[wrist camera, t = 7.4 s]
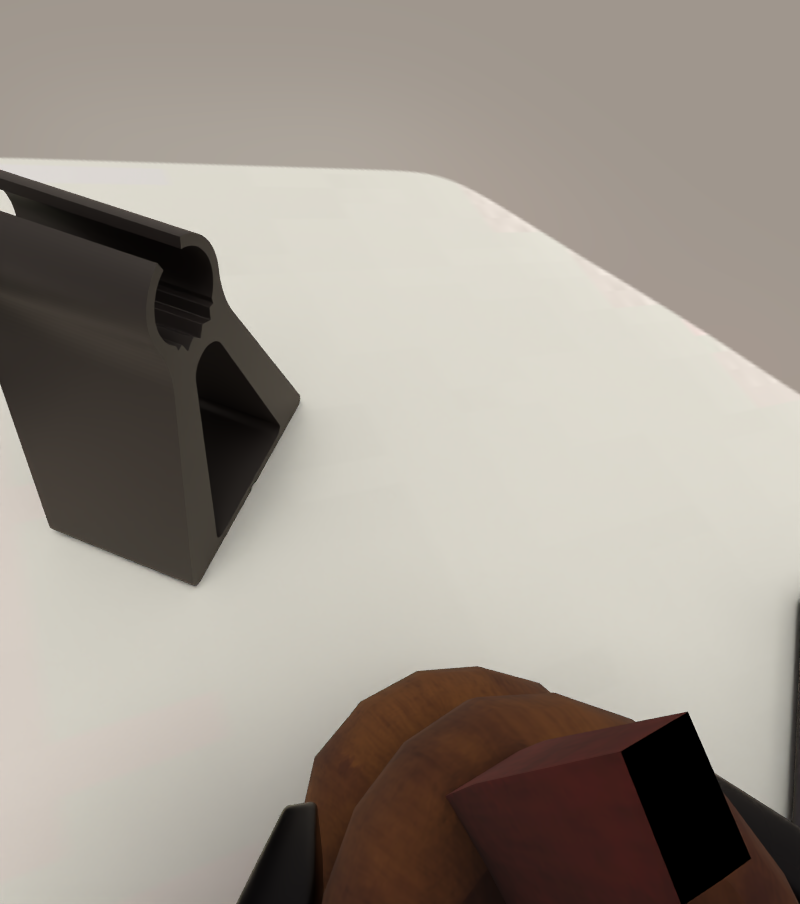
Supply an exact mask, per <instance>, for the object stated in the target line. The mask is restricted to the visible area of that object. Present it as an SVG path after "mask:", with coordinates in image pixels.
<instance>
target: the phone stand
mask: <svg viewBox="0 0 800 904" xmlns="http://www.w3.org/2000/svg"><path fill="white" fill-rule="evenodd" d="M0 189H1V190H4V192H5V193H6V194H7V196H8V197H9V199H10V201H11V203H12V205H13V207H14V210H15V213H16V216H14V215H11V214H8V213H5V212H2V211H0V384H1V387H2V390H3V393H4V396H5V399H6V402H7V405H8V407H9V410H10V413H11V416H12V419H13V422H14V425H15V428H16V431H17V434H18V436H19V439H20V442H21V445H22V448H23V451H24V454H25V457H26V460H27V462H28V465H29V468H30V471H31V474H32V477H33V480H34V483H35V486H36V489H37V491H38V494H39V497H40V500H41V503H42V506H43V509H44V512H45V515H46V518H47V520H48V523H49V526H50V528H52V529H54V530H57V531H59V532H62V533H64V534H67V535H69V536H72V537H74V538H77V539H79V540H82V541H84V542H87V543H89V544H92V545H94V546H97V547H99V548H102V549H104V550H107V551H109V552H112V553H114V554H117V555H119V556H122V557H124V558H127V559H129V560H132V561H134V562H137V563H139V564H142V565H144V566H147V567H149V568H152V569H154V570H157V571H159V572H162V573H164V574H167V575H169V576H172V577H174V578H177V579H179V580H181V581H184V582H186V583H189V584H191V585H194V586H195V585H197V584H198V583H199V582H200V580H201V579H202V577H203V575H204V573H205V571H206V570H207V568H208V566H209V564H210V562H211V561H212V559H213V557H214V555H215V553H216V552H217V550H218V548H219V546H220V545H221V543H222V541H223V539H224V537H225V536H226V534H227V532H228V530H229V528H230V527H231V525H232V523H233V521H234V519H235V518H236V516H237V514H238V512H239V511H240V509H241V507H242V505H243V503H244V502H245V500H246V498H247V496H248V494H249V493H250V491H251V486H252V484H253V482H256V480H257V478H258V477H259V475H260V473H261V471H262V469H263V468H264V466H265V464H266V462H267V460H268V459H269V457H270V455H271V453H272V452H273V450H274V448H275V446H276V444H277V443H278V441H279V439H280V437H281V435H282V434H283V432H284V430H285V428H286V426H287V425H288V423H289V421H290V419H291V418H292V416H293V414H294V412H295V410H296V409H297V407H298V404H299V401H300V395H299V394H298V392H297V391H296V390H295V389H294V387H293V386H292V385H291V384H290V382H289V381H288V380H287V379H286V377H285V376H284V375H283V374H282V372H281V371H280V370H279V369H278V367H277V366H276V365H275V364H274V362H273V361H272V360H271V359H270V357H269V356H268V355H267V354H266V352H265V351H264V350H263V348H262V347H261V346H260V345H259V343H258V342H257V341H256V340H255V338H254V337H253V336H252V335H251V333H250V332H249V331H248V330H247V328H246V327H245V326H244V325H243V323H242V322H241V321H240V320H239V318H238V317H237V316H236V315H235V313H234V312H233V311H232V309H231V308H230V306H229V305H228V303H227V301H226V298H225V296H224V293H223V289H222V285H221V281H220V275H219V268H218V262H217V257H216V254H215V251H214V249H213V247H212V245H211V244H210V242H209V241H208V240H207V239H206V238H205V237H203V236H202V235H200V234H197V233H194V232H191V231H188V230H185V229H181V228H178V227H175V226H172V225H169V224H166V223H163V222H160V221H157V220H154V219H151V218H148V217H144V216H141V215H138V214H135V213H132V212H129V211H126V210H123V209H120V208H117V207H114V206H111V205H107V204H104V203H101V202H98V201H95V200H92V199H89V198H86V197H83V196H80V195H77V194H74V193H70V192H67V191H64V190H61V189H58V188H55V187H52V186H49V185H46V184H43V183H40V182H37V181H33V180H30V179H27V178H24V177H21V176H18V175H15V174H12V173H9V172H6V171H3V170H0Z"/></svg>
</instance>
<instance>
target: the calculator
mask: <svg viewBox="0 0 800 904" xmlns="http://www.w3.org/2000/svg"><path fill="white" fill-rule="evenodd" d="M792 823H794V824H796V825H797V826H799V827H800V660H799V683H798V706H797V729H796V752H795V775H794V798H793V821H792Z"/></svg>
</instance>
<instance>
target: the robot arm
mask: <svg viewBox="0 0 800 904" xmlns="http://www.w3.org/2000/svg"><path fill="white" fill-rule="evenodd" d="M715 776H716V778H717V780H718V783H719V785H720V787H721V790H722V792H723V793H724V794H725V795H726V796H727V798H728V799H729V800H730V802H731V803H732V804H733V806H734V807H735V808H736V810H737V811H738V812H739V814H740V815H741V816H742V818H743V819H744V820H745V822H746V823H747V824H748V826H749V827H750V829H751V830H752V831H753V833H754V834H755V835H756V837H757V838H758V839H759V841H760V842H761V843H762V845H763V846H764V847H765V849H766V850H767V851H768V853H769V854H770V855H771V857H772V858H773V860H774V861H775V862H776V864H777V865H778V866H779V868H780V869H781V870H782V872H783V873H784V875H785V877H786V879H787V881H788V883H789V885H790V887H791V889H792V891H793V893H794V895H795V897H796V899H797V901H798V903H799V904H800V827H799V826H797V825H796V824H794V823H792V822H791V821H789V820H788V819H786V818H785V817H783V816H781V815H780V814H778V813H777V812H775V811H774V810H772V809H770V808H769V807H767V806H766V805H764V804H763V803H761V802H759V801H758V800H756V799H755V798H753V797H751V796H750V795H748V794H747V793H745V792H744V791H742V790H740V789H739V788H737V787H736V786H734V785H733V784H731V783H729V782H728V781H726V780H725V779H723V778H722V777H720V776H718V775H717V774H715ZM323 894H324V884H323V857H322V845H321V836H320V826H319V816H318V808H317V805H316V804H315V803H314V802H307V803H300V804H294V805H289V806H287V807H286V808H284V810H283V811H282V813H281V815H280V817H279V819H278V821H277V823H276V825H275V827H274V829H273V831H272V833H271V835H270V837H269V839H268V841H267V843H266V845H265V847H264V849H263V851H262V853H261V855H260V857H259V859H258V861H257V863H256V865H255V867H254V869H253V871H252V873H251V875H250V877H249V879H248V881H247V883H246V885H245V887H244V889H243V891H242V893H241V895H240V897H239V899H238V901H237V903H236V904H322V900H323Z"/></svg>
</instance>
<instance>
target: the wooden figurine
mask: <svg viewBox="0 0 800 904" xmlns="http://www.w3.org/2000/svg"><path fill="white" fill-rule="evenodd" d="M307 802H314V803H315V804H316V805H317V808H318V816H319V826H320V836H321V845H322V857H323V884H324V894H323V900H322V904H799V903H798V901H797V899H796V897H795V895H794V893H793V891H792V889H791V887H790V885H789V883H788V881H787V879H786V877H785V875H784V873H783V872H782V870H781V869H780V868H779V866H778V865H777V864H776V862H775V861H774V860H773V858H772V857H771V855H770V854H769V853H768V851H767V850H766V849H765V847H764V846H763V845H762V843H761V842H760V841H759V839H758V838H757V837H756V835H755V834H754V833H753V831H752V830H751V829H750V827H749V826H748V824H747V823H746V822H745V820H744V819H743V818H742V816H741V815H740V814H739V812H738V811H737V810H736V808H735V807H734V806H733V804H732V803H731V802H730V800H729V799H728V798H727V796H726V795H725V794H724V793H723V792H722V790H721V787H720V785H719V783H718V780H717V778H716V776H715V773H714V771H713V769H712V767H711V764H710V762H709V760H708V757H707V755H706V753H705V750H704V748H703V746H702V743H701V741H700V739H699V737H698V734H697V732H696V730H695V727H694V725H693V723H692V720H691V718H690V716H689V713H688V712H684V713H679V714H674V715H669V716H664V717H659V718H654V719H649V720H644V721H639V722H635V721H634V720H632V719H629V718H626V717H623V716H620V715H617V714H615V713H612V712H609V711H606V710H603V709H600V708H597V707H594V706H591V705H588V704H585V703H583V702H580V701H577V700H574V699H571V698H568V697H565V696H562V695H559V694H556V693H550V692H549V691H548V690H547V689H546V688H544V687H543V686H542V685H541V684H540V683H537V682H533V681H529V680H526V679H522V678H518V677H515V676H511V675H507V674H504V673H500V672H496V671H493V670H489V669H485V668H482V667H478V666H475V667H463V668H451V669H438V670H426V671H417V672H415V673H413V674H411V675H409V676H407V677H405V678H404V679H402V680H400V681H398V682H396V683H394V684H392V685H391V686H389V687H387V688H385V689H383V690H381V691H380V692H378V693H376V694H374V695H372V696H370V697H368V698H367V699H365V700H363V701H361V702H360V703H359V704H358V705H357V707H356V708H355V709H354V711H353V712H352V713H351V715H350V716H349V717H348V718H347V719H346V721H345V722H344V723H343V724H342V725H341V727H340V728H339V729H338V730H337V731H336V733H335V734H334V735H333V736H332V737H331V739H330V740H329V741H328V742H327V743H326V745H325V746H324V747H323V748H322V749H321V751H320V752H319V753H318V754H317V755H316V757H315V759H314V763H313V768H312V772H311V777H310V781H309V785H308V790H307V794H306V799H305V803H307Z"/></svg>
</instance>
